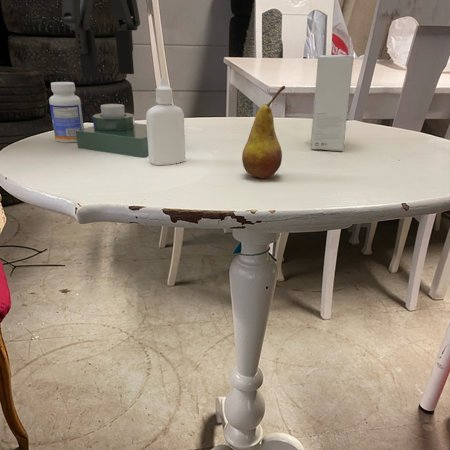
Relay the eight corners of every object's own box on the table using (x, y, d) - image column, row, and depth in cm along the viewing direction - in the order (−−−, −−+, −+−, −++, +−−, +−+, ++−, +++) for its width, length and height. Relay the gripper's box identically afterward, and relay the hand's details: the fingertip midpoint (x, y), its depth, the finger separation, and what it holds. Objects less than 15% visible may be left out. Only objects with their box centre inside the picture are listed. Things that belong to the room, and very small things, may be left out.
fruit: (266, 169, 70) (271, 82, 64) (287, 179, 66) (295, 86, 60) (233, 173, 68) (235, 83, 62) (253, 183, 64) (257, 87, 58)
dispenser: (77, 148, 81) (73, 117, 79) (118, 137, 90) (115, 109, 87) (143, 157, 76) (140, 125, 73) (179, 145, 84) (178, 116, 82)
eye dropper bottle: (150, 159, 75) (145, 76, 69) (185, 159, 75) (183, 76, 69) (148, 165, 71) (142, 79, 65) (185, 165, 72) (182, 79, 66)
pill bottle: (62, 136, 90) (53, 80, 85) (89, 137, 89) (82, 81, 84) (50, 142, 85) (40, 83, 80) (79, 143, 85) (71, 84, 80)
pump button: (97, 118, 81) (95, 105, 80) (112, 115, 84) (110, 103, 83) (115, 120, 79) (113, 107, 78) (130, 117, 82) (128, 105, 81)
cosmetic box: (343, 152, 81) (356, 55, 74) (308, 150, 82) (317, 54, 75) (342, 142, 88) (354, 53, 81) (310, 140, 89) (319, 53, 82)
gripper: (56, -122, 57) (81, 81, 69) (156, -87, 74) (164, 72, 85) (13, -115, 60) (44, 78, 72) (118, -83, 77) (130, 70, 88)
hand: (109, 75), depth 78 cm, fingers open, 8 cm apart
